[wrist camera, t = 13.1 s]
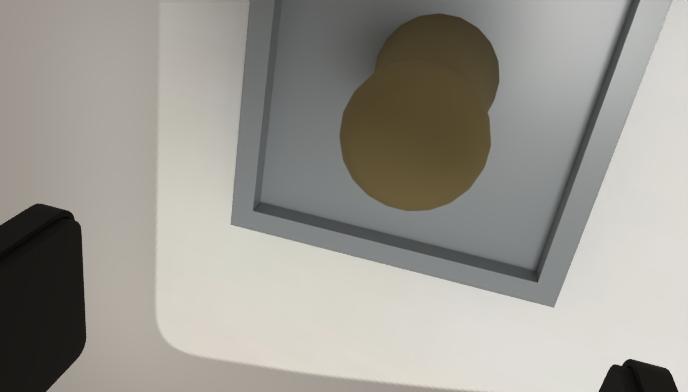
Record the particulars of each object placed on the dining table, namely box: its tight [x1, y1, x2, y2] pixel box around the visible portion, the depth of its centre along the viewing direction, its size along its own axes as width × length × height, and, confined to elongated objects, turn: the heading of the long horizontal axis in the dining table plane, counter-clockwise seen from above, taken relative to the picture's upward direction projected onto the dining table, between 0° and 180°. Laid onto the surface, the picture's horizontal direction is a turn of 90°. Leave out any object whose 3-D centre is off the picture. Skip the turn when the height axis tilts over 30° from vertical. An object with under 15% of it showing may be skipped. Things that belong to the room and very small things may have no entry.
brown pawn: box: [339, 13, 500, 211], centre depth 24 cm, size 6×6×11 cm
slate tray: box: [231, 0, 672, 307], centre depth 29 cm, size 20×18×2 cm
